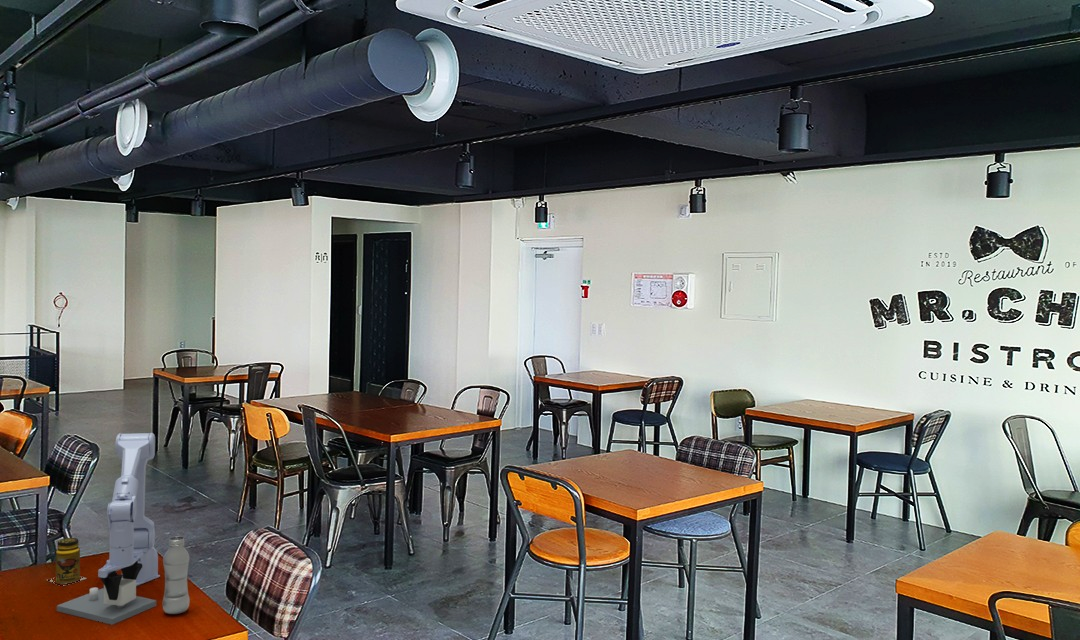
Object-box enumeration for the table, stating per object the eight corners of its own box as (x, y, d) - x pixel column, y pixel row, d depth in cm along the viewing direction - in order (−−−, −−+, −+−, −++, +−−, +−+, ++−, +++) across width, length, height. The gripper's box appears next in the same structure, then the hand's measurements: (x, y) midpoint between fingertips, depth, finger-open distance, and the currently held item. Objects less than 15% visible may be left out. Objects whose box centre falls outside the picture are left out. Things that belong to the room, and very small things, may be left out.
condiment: (62, 586, 235) (63, 545, 234) (45, 580, 239) (46, 539, 238) (87, 579, 241) (87, 538, 241) (70, 573, 245) (70, 533, 245)
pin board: (102, 593, 230) (102, 577, 230) (156, 605, 223) (156, 589, 223) (56, 611, 217) (56, 594, 217) (112, 624, 210) (112, 607, 210)
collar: (118, 596, 221) (118, 577, 221) (135, 598, 220) (136, 579, 220) (103, 603, 216) (103, 584, 216) (121, 605, 215) (121, 586, 215)
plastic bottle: (179, 618, 215) (180, 543, 214) (156, 615, 217) (157, 540, 216) (194, 609, 222) (195, 536, 221) (172, 606, 223) (173, 533, 222)
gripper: (127, 535, 226) (127, 584, 226) (88, 551, 211) (87, 603, 212) (150, 537, 224) (149, 587, 225) (111, 554, 210) (111, 606, 210)
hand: (121, 595), depth 218 cm, fingers closed on collar, 5 cm apart
